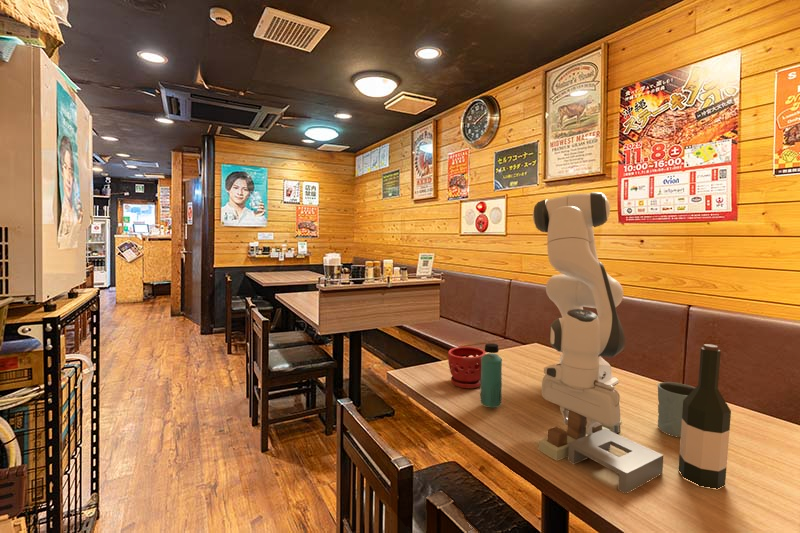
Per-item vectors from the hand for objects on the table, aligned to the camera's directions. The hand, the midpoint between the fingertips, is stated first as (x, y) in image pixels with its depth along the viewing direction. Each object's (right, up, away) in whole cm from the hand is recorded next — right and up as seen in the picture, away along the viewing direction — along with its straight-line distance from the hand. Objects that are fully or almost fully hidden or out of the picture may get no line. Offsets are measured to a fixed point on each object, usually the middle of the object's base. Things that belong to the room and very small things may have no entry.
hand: (577, 428), depth 102 cm
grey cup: (+31, -4, +9) cm, 33 cm away
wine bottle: (+22, -6, -13) cm, 26 cm away
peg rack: (0, -4, +1) cm, 5 cm away
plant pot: (-21, -1, +42) cm, 47 cm away
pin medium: (-6, -5, -2) cm, 8 cm away
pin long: (0, -4, +1) cm, 4 cm away
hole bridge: (+5, -5, -9) cm, 11 cm away
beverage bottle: (-17, -3, +22) cm, 28 cm away
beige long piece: (+9, -4, +18) cm, 21 cm away
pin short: (+6, -4, +5) cm, 9 cm away
